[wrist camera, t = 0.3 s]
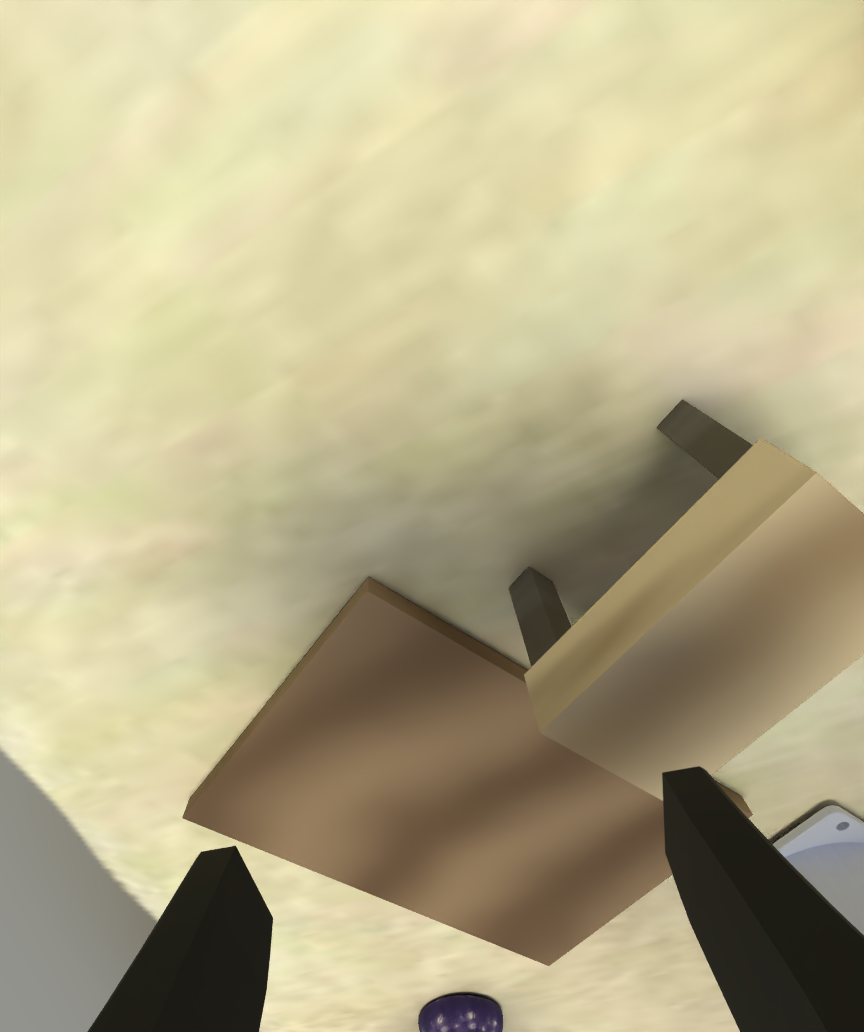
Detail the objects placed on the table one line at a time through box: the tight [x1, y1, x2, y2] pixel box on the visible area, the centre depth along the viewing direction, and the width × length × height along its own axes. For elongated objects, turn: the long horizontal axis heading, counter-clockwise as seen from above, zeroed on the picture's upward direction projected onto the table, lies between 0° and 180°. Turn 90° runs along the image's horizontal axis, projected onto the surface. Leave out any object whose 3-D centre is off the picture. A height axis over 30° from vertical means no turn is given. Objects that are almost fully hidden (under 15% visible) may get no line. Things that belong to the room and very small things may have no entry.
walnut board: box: [183, 577, 753, 966], centre depth 23 cm, size 18×12×1 cm, turn 53°
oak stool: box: [509, 400, 864, 801], centre depth 16 cm, size 4×8×6 cm, turn 143°
